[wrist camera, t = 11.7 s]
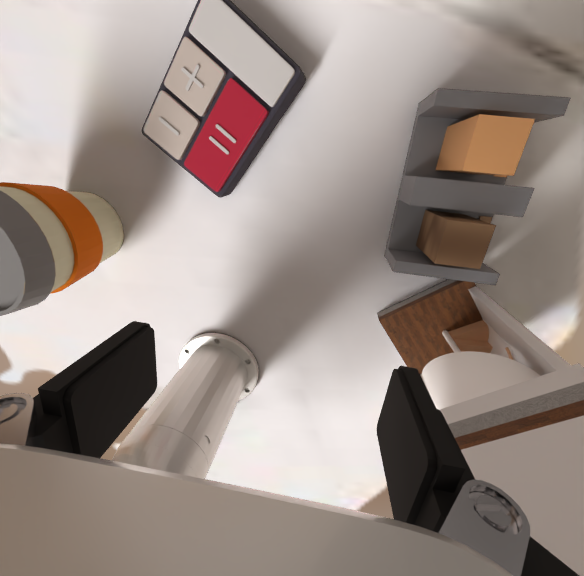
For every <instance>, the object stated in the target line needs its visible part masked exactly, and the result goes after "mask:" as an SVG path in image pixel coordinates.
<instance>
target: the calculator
mask: <svg viewBox="0 0 584 576" xmlns="http://www.w3.org/2000/svg"><path fill="white" fill-rule="evenodd" d="M305 81H306V78H305V75H304V74H303V72H302V70H301V68H300V67H299V66H298V65H297V64H296V63H295V62H294V61H293V60H292V59H291V58H290V57H289V56H288V55H287V54H286V53H285V52H284V51H282V50H281V49H280V48H279V47H278V46H277V45H276V44H275V43H274V42H273V41H272V40H271V39H270V38H269V37H268V36H267V35H266V34H265V33H264V32H263V31H262V30H261V29H259V28H258V27H257V26H256V25H255V24H254V23H253V22H252V21H251V20H250V19H249V18H248V17H247V16H246V15H245V14H244V13H243V12H242V11H241V10H240V9H239V8H238V7H237V6H235V5H234V4H233V3H232V2H231V1H230V0H198V2H197V4H196V6H195V9H194V11H193V13H192V15H191V18H190V20H189V22H188V25H187V27H186V29H185V31H184V34H183V36H182V38H181V41H180V43H179V45H178V48H177V50H176V52H175V54H174V57H173V59H172V61H171V64H170V66H169V68H168V70H167V73H166V75H165V77H164V80H163V82H162V84H161V86H160V89H159V91H158V93H157V96H156V98H155V100H154V102H153V105H152V107H151V109H150V112H149V114H148V116H147V118H146V121H145V123H144V125H143V128H142V133H143V135H144V136H146V137H147V138H148V139H149V140H150V141H152V142H153V143H154V144H155V145H156V146H158V147H159V148H160V149H161V150H162V151H164V152H165V153H166V154H167V155H168V156H170V157H171V158H172V159H173V160H174V161H176V162H177V163H178V164H179V165H180V166H182V167H183V168H184V169H185V170H186V171H188V172H189V173H190V174H191V175H192V176H194V177H195V178H196V179H197V180H198V181H200V182H201V183H202V184H203V185H204V186H206V187H207V188H208V189H209V190H210V191H212V192H213V193H214V194H215V195H216V196H218V197H223V196H227V195H229V194H231V192H232V191H233V189H234V188H235V186H236V185H237V183H238V182H239V180H240V179H241V177H242V176H243V174H244V173H245V171H246V170H247V168H248V167H249V165H250V164H251V162H252V161H253V159H254V158H255V156H256V155H257V153H258V152H259V150H260V149H261V147H262V146H263V144H264V143H265V141H266V140H267V138H268V137H269V135H270V133H271V132H272V130H273V129H274V127H275V126H276V124H277V123H278V121H279V120H280V119H281V117H282V116H283V115H284V113H285V112H286V110H287V109H288V107H289V106H290V105H291V103H292V102H293V100H294V99H295V97H296V96H297V94H298V93H299V91H300V90H301V88H302V87H303V85H304V84H305Z"/></svg>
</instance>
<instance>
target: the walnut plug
mask: <svg viewBox="0 0 584 576" xmlns="http://www.w3.org/2000/svg"><path fill="white" fill-rule="evenodd" d="M495 227H496V225H493V224H490V223H487V222H485V221H482V220H479V219H476V218H473V217H471V216H468V215H465V214H459V213H450V212H441V211H432V210H425V213H424V217H423V220H422V224H421V228H420V232H419V235H418V239H417V243H416V246H417V247H418V248H419V249H420V250H421V251H422V252H423V253H424V254H425V255H426V256H428V257H429V258H430V259H431V260H432V261H433V262H434V263H435V264H443V265H451V266H459V267H467V268H474V269H480V267H481V265H482V262H483V259H484V257H485V254H486V251H487V248H488V246H489V243H490V240H491V238H492V235H493V232H494V230H495Z"/></svg>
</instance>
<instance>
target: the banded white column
mask: <svg viewBox="0 0 584 576" xmlns="http://www.w3.org/2000/svg"><path fill="white" fill-rule="evenodd" d="M377 314H378V318H379V321H380V323H381V324H382V326H383V328H384V329H385V331H386V333H387V334H388V336H389V337H390V339H391V341H392V342H393V344H394V346H395V347H396V349H397V350H398V352H399V354H400V355H401V357H402V359H403V360H404V362H405V364H406V365H407V367H411V368H416V369H417V370H418V372H419V374H420V376H421V378H422V380H423V382H424V384H425V386H426V388H427V390H428V392H429V394H430V396H431V398H432V400H433V402H434V405H435V407H436V409H438V410H440V411H441V412H442V414H443V416H444V418H445V420H446V422H447V424H448V426H449V428H450V430H451V432H452V434H453V436H454V438H455V440H456V442H457V444H458V446H459V448H460V450H461V452H462V454H463V456H464V458H465V460H466V462H467V464H468V466H469V468H470V470H471V472H472V474H473V476H474V478H475V480H482V481H485V482H488V483H491V484H493V485H494V486H496V487H498V488H500V489H501V490H503V491H504V492H505V493H506V494H508V495H509V496H510V497H511V498H512V499H513V500H514V501H515V502H516V503H517V504H518V505H519V506H520V508H521V509H522V511H523V512H524V514H525V515H526V517H527V519H528V522H529V525H530V536H531V537H532V538H533V539H534V540H536V541H537V542H538V543H539V544H541V545H542V546H543V547H544V548H546V549H547V550H548V551H549V552H551V553H552V554H553V555H554V556H556V557H557V558H558V559H559V560H561V561H562V562H563V563H564V564H566V565H567V566H568V567H569V568H571V569H572V570H573V571H574V572H576V573H577V574H578V575H580V576H584V367H583V366H582V365H580V364H579V363H578V364H575V365H572V366H571V365H570V364H569V363H568V362H566V361H565V360H564V359H563V358H562V357H560V356H559V355H558V354H557V353H556V352H554V351H553V350H552V349H551V348H550V347H549V346H547V345H546V344H545V343H544V342H543V341H541V340H540V339H539V338H538V337H537V336H535V335H534V334H533V333H532V332H531V331H529V330H528V329H527V328H526V327H525V326H523V325H522V324H521V323H520V322H519V321H517V320H516V319H515V318H514V317H513V316H512V315H510V314H509V313H508V312H507V311H506V310H504V309H503V308H502V307H501V306H500V305H498V304H497V303H496V302H495V301H494V300H492V299H491V298H490V297H489V296H488V295H486V294H485V293H484V292H483V291H482V290H480V289H479V288H478V287H477V286H476V285H475V283H474V282H467V281H460V280H452V279H448V280H446V281H444V282H442V283H440V284H438V285H436V286H434V287H431V288H429V289H427V290H425V291H423V292H421V293H419V294H417V295H415V296H412V297H410V298H408V299H406V300H404V301H402V302H400V303H398V304H396V305H394V306H391V307H389V308H387V309H385V310H383V311H381V312H379V313H377Z"/></svg>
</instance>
